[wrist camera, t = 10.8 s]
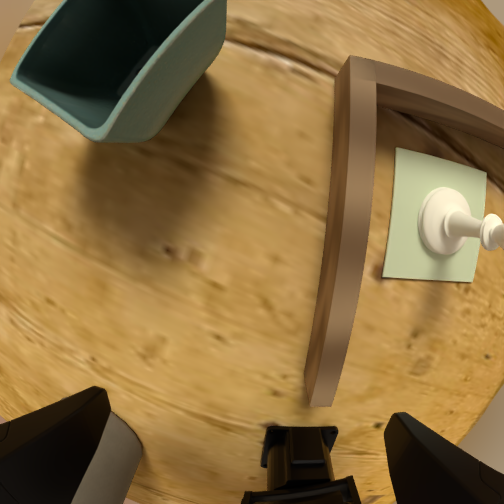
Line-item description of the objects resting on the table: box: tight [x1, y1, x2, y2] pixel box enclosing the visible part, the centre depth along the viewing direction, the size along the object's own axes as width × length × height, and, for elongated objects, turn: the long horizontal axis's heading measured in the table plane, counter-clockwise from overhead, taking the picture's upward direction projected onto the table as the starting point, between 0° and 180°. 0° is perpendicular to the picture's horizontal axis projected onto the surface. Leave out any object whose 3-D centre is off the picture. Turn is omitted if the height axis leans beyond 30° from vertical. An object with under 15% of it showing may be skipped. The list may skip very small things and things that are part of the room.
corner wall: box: [304, 55, 504, 407], centre depth 16 cm, size 22×22×4 cm
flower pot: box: [10, 0, 227, 143], centre depth 13 cm, size 9×9×9 cm
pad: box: [382, 147, 487, 282], centre depth 18 cm, size 9×9×1 cm
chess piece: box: [418, 187, 504, 255], centre depth 13 cm, size 5×5×10 cm
